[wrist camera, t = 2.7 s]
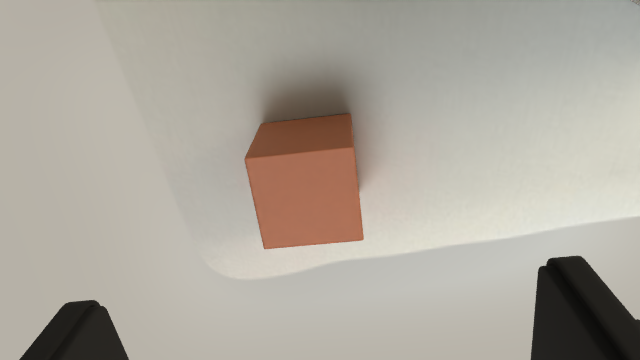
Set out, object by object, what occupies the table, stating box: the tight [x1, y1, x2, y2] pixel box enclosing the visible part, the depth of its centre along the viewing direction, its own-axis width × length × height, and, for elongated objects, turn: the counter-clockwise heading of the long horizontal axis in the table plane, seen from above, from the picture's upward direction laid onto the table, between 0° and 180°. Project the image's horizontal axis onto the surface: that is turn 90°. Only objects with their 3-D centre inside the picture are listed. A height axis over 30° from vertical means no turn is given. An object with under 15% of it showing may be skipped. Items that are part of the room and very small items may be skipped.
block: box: [245, 114, 364, 249], centre depth 23 cm, size 5×5×5 cm
